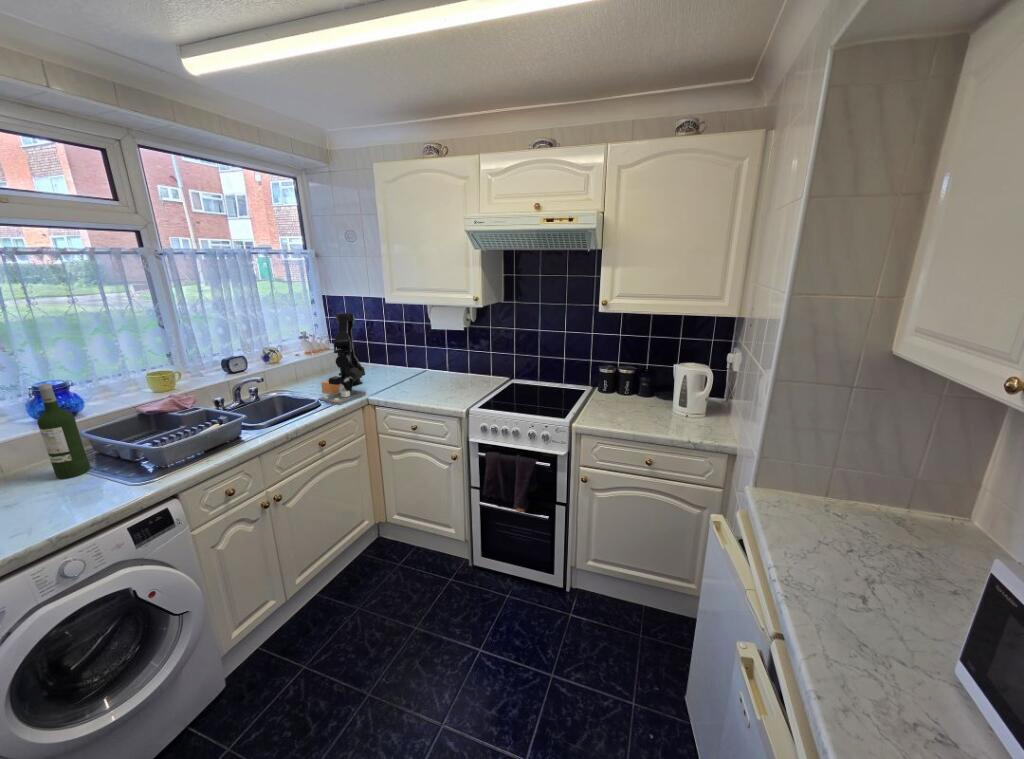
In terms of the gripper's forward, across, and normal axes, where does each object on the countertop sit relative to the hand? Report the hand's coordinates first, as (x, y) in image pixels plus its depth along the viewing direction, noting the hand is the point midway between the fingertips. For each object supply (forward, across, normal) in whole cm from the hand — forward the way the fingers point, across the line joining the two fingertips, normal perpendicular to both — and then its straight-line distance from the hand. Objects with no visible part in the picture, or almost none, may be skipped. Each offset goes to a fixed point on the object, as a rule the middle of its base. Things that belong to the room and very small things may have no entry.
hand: (349, 393), depth 205 cm
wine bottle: (+1, -93, +27) cm, 97 cm away
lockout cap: (+3, +5, +18) cm, 19 cm away
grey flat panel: (+3, -2, +4) cm, 5 cm away
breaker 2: (+1, -3, 0) cm, 3 cm away
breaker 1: (+1, +2, +7) cm, 7 cm away
